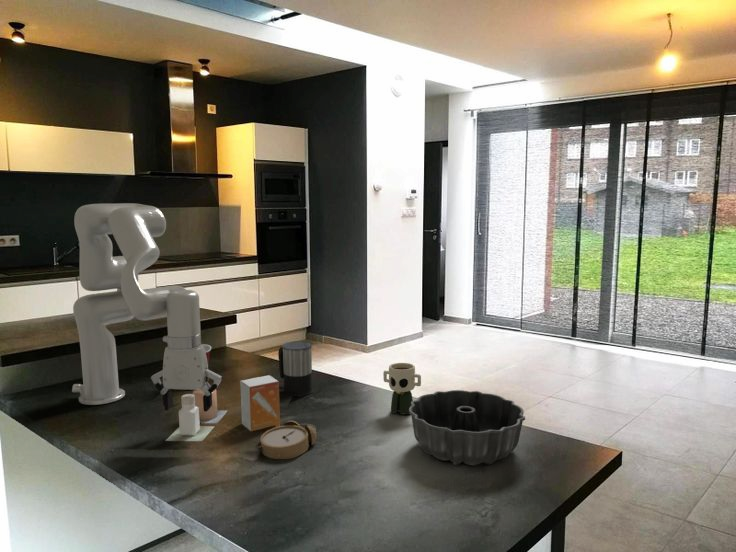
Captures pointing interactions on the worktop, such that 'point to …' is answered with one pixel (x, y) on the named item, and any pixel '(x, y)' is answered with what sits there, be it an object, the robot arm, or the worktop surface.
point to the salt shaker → (189, 416)
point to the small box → (260, 403)
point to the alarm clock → (288, 440)
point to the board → (201, 433)
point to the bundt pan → (466, 426)
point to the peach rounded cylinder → (199, 403)
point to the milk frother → (296, 367)
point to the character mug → (401, 385)
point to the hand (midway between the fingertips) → (188, 409)
